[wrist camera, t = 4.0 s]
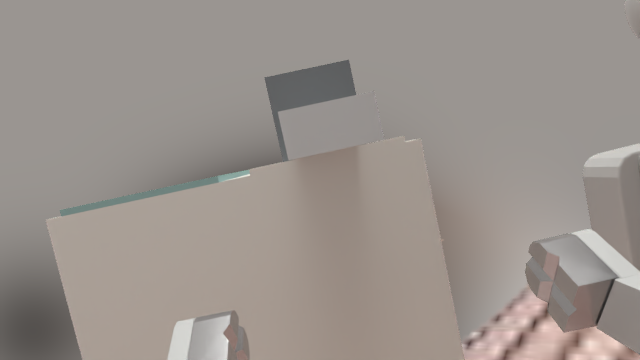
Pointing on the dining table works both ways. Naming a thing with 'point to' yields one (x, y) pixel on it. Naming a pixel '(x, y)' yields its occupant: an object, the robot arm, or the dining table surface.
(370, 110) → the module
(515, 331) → the dining table surface
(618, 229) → the rounded white slab
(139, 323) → the stand
